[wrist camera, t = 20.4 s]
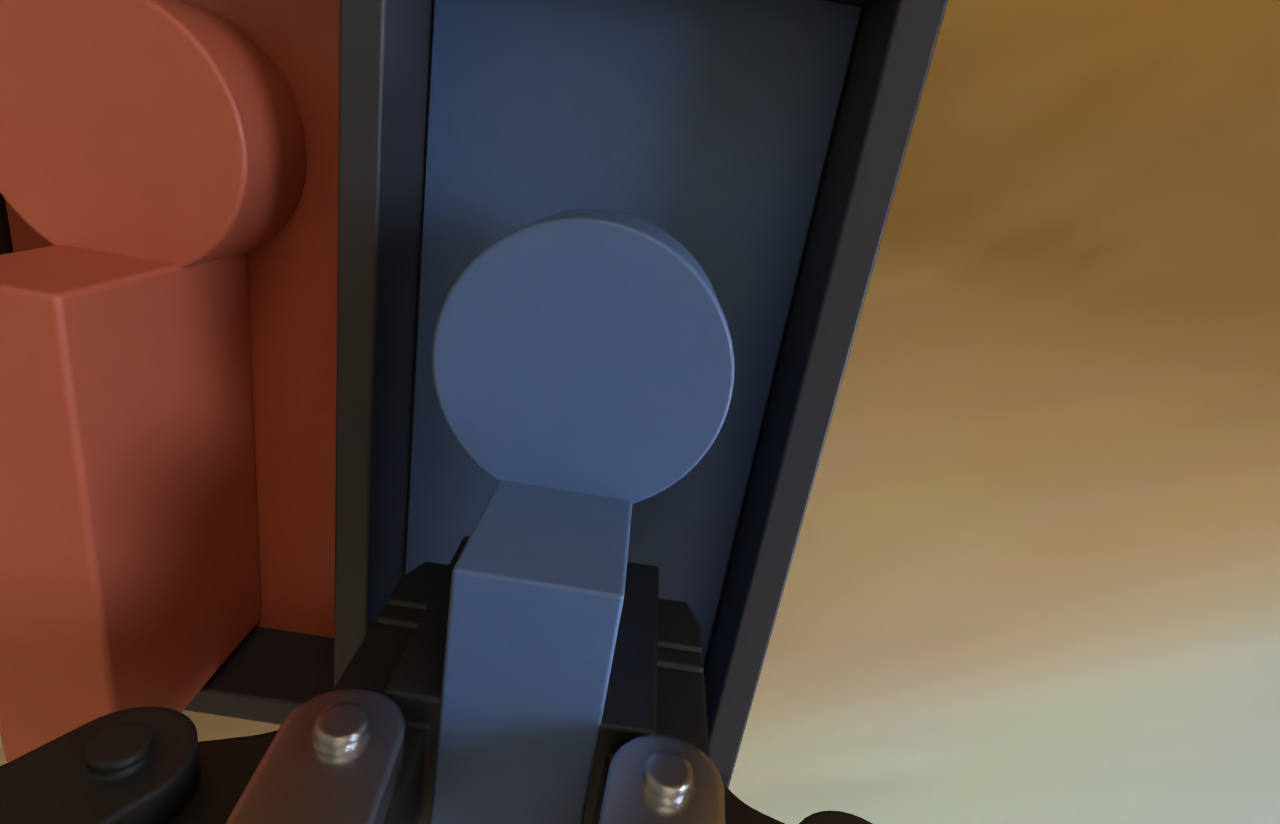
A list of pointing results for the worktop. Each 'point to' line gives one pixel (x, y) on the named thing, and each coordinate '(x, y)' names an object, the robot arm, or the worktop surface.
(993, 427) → the worktop surface
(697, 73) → the cutlery tray
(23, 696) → the terracotta spoon
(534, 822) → the slate-blue spoon
